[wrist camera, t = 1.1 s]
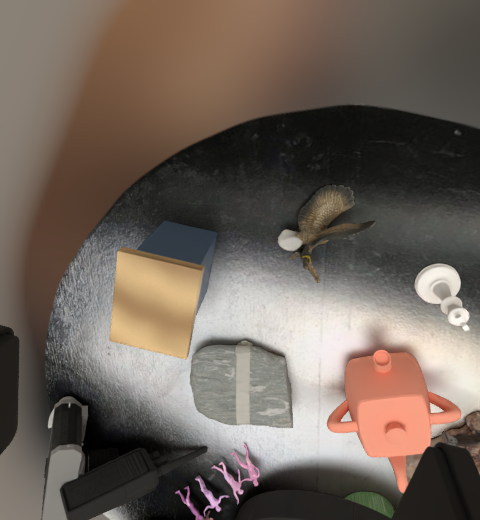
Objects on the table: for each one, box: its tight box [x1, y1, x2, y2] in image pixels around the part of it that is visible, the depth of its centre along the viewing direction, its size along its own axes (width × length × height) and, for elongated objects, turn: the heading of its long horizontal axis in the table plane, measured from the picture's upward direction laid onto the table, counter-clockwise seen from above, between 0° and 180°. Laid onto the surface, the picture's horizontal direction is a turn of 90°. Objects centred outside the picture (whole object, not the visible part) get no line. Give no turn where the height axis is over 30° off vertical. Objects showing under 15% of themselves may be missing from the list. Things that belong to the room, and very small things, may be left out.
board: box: [110, 247, 204, 359], centre depth 43 cm, size 10×8×1 cm
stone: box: [406, 412, 480, 484], centre depth 59 cm, size 15×7×10 cm
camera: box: [41, 396, 119, 520], centre depth 65 cm, size 18×10×10 cm, turn 164°
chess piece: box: [415, 264, 469, 331], centre depth 47 cm, size 5×5×10 cm
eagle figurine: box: [278, 185, 377, 283], centre depth 48 cm, size 8×7×9 cm
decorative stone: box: [190, 340, 293, 428], centre depth 57 cm, size 13×10×6 cm
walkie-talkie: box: [60, 447, 207, 520], centre depth 62 cm, size 6×6×20 cm
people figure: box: [175, 445, 260, 520], centre depth 67 cm, size 18×6×8 cm
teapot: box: [327, 350, 461, 493], centre depth 53 cm, size 14×12×10 cm
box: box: [137, 220, 218, 315], centre depth 49 cm, size 8×7×12 cm
